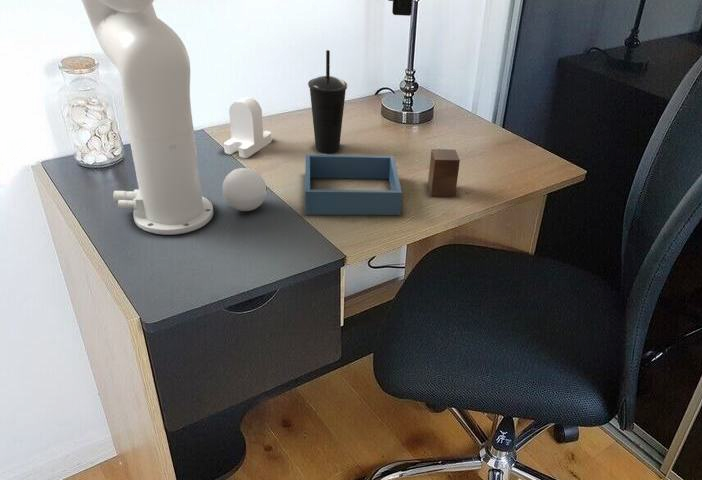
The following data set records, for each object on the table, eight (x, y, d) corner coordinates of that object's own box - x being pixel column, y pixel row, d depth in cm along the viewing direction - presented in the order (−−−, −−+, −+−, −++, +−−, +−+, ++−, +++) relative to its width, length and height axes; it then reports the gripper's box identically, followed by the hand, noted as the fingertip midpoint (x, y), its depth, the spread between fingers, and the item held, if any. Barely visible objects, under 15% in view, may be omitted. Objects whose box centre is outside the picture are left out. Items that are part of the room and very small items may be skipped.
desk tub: (305, 214, 113) (305, 191, 110) (306, 176, 125) (305, 154, 122) (400, 215, 115) (402, 192, 113) (392, 177, 127) (393, 156, 124)
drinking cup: (348, 142, 138) (351, 47, 127) (342, 158, 132) (344, 58, 120) (313, 138, 139) (312, 42, 127) (305, 153, 132) (303, 54, 121)
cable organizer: (223, 152, 130) (218, 104, 124) (250, 135, 138) (247, 89, 132) (246, 158, 129) (242, 109, 123) (272, 140, 136) (270, 94, 130)
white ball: (274, 214, 112) (272, 175, 108) (232, 222, 109) (228, 183, 105) (254, 188, 119) (252, 151, 115) (214, 195, 116) (210, 157, 111)
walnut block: (431, 196, 122) (435, 159, 117) (427, 184, 125) (431, 148, 121) (455, 196, 122) (460, 160, 118) (451, 185, 126) (455, 149, 122)
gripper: (377, -114, 109) (373, -6, 119) (387, -102, 96) (381, 19, 106) (421, -111, 111) (413, -4, 120) (437, -98, 97) (427, 22, 107)
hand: (398, 7), depth 113 cm, fingers open, 9 cm apart
